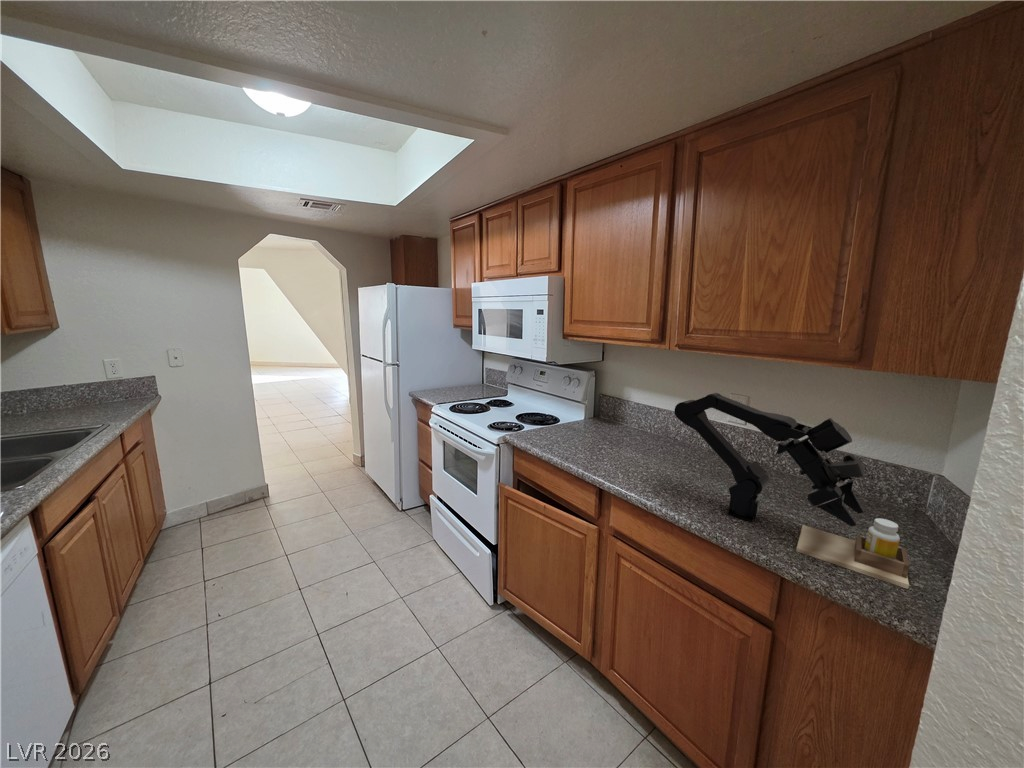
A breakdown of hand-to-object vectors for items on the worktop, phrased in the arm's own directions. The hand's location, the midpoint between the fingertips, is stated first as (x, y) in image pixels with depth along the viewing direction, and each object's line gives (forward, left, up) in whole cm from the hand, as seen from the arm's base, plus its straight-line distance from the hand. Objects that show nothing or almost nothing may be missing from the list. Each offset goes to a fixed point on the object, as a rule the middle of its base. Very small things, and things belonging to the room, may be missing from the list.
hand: (857, 519), depth 93 cm
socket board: (0, -1, -9) cm, 9 cm away
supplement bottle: (+5, -1, -8) cm, 10 cm away
